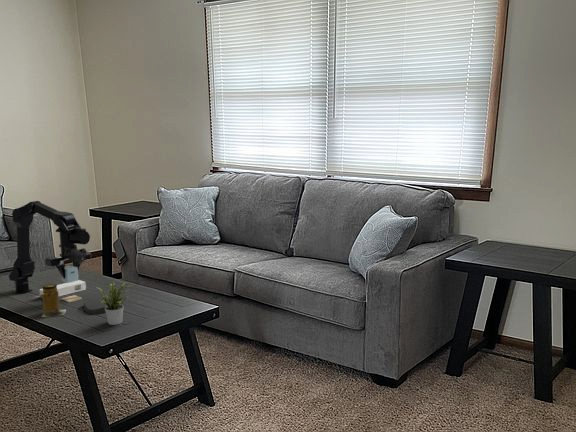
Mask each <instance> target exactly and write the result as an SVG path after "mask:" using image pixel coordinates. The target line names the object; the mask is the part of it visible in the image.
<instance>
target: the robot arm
mask: <svg viewBox="0 0 576 432" xmlns="http://www.w3.org/2000/svg"><path fill="white" fill-rule="evenodd" d="M11 214H12V215H11V217H12V222H13V223H14V226H16V241H17V242H16V244H17V245H16V248H17V249H16V251H17V252H16V253H17V256H16V259H15V261H14V263H13V265H12V266H13V267H12V271H11V272H10V274H9V275H8V278H9V280H10V281H12V282H14V289H12V293H15V294H18V295H20V294H25V293H28V292H32V291H33V289H32V288H30V285H29V284H30V283H29V278H32V277H33V274H34V272H35V270H36V268H35V264H36V261H34V260H32V258H31V256H30V226H31V225H32V223H33V221H34V215H36V214H38V215H40V216H42V217H44V218H46V219H48V220H51V221H52V222H53V223H52V224H53V225H55V226H57V227H58V228H56V230H55V232H56V233H59V240H60V241H59V242H60V243H59V245H58V247H59V248H60V254H59V257H56V256H50V257H49V256H48V257H46V258H45V259H44V264H45V265H46V266H49V267H56V269H57V270H58V272H59V273H60V275H61V278H62V277H63V279H65V268H64V267H66V264H65V263H64V262H66V261H70V262H71V263H72V266H76V267H78V271H80V267H81V265H82V264H83V262H85V261H86V260H89V259H92V254H91V252H90V251H88V250H87V249H86V248H81V249H80V248H79V249H78V245H87V244H88V243H89V242H90V238H91V235H90V233H89V232H88V231H87V229H86V227H85V228H82V226H81V225H80V223H79V221H78V220H77V218H76V216H75V214H74V213H72V212H68V211H60V210H57V209H55V208H52V207H50V206H49V205H46V204H45V203H42V202H41V201H39V200H34V201H29V202H28V203H27V204H25V205H22V206H20V207H17V208H14V209H13V210H12V212H11Z"/></svg>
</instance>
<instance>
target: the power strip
mask: <svg viewBox="0 0 576 432" xmlns="http://www.w3.org/2000/svg"><path fill="white" fill-rule="evenodd" d="M56 285H57V291H58V295H59V297H61V296H65V295H70V294H74V293H76V292H81V291H85V290H87V284H86V281H84V280H81V279H79V280H78V281H74V282H70V283H67V282H64V283H60V284H56ZM42 293H43V288H40V289H39V295H36V296H32V297H29V298H28V300H29V301H34V300H38V299H43V297H42Z"/></svg>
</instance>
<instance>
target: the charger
mask: <svg viewBox="0 0 576 432" xmlns="http://www.w3.org/2000/svg"><path fill="white" fill-rule="evenodd" d="M64 268H65V279H63V277H62V276H61V282H64V283H70V282H74V281H78V280H80V279H79V270H78V267H76V266H73V264H72V265H65V267H64Z"/></svg>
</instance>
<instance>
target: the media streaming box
mask: <svg viewBox="0 0 576 432" xmlns="http://www.w3.org/2000/svg"><path fill="white" fill-rule="evenodd" d="M103 296H104V297H105V295H103ZM103 296H97V297H93V298H90V299H88V300H84V302H83V308H84V310H85V311H86V313H87V314H89V315H97V314H106V312H105V307H106V306H107V305H106V304H105V303H101V301H99V300H104V299H103ZM107 296H108V297H109V299H110V295H107ZM105 298H106V297H105ZM121 298H122V297H121ZM121 298H120V299H121ZM106 299H107V298H106ZM110 300H111V299H110ZM104 301H105V300H104ZM107 301H108V299H107ZM120 301H123V299H121V300H120ZM108 302H109V301H108ZM109 303H110V302H109ZM119 304H120V305H123V306H124V301H123V302H122V303H119ZM110 305H111V303H110Z"/></svg>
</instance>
